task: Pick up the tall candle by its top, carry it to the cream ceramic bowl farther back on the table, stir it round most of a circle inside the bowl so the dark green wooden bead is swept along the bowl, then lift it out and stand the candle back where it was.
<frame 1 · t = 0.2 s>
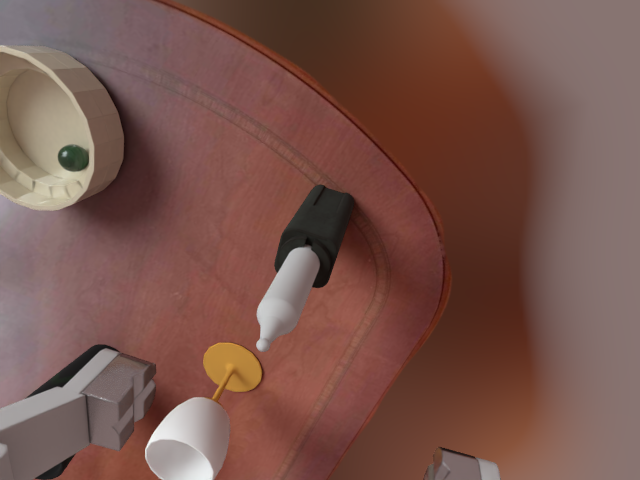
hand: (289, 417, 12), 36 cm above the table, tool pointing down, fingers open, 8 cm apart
bowl: (61, 125, 50), on the table
cup 2: (233, 366, 61), on the table
cup: (109, 362, 66), on the table
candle: (329, 208, 48), on the table
bead: (73, 158, 49), point 2 cm above the table, touching bowl
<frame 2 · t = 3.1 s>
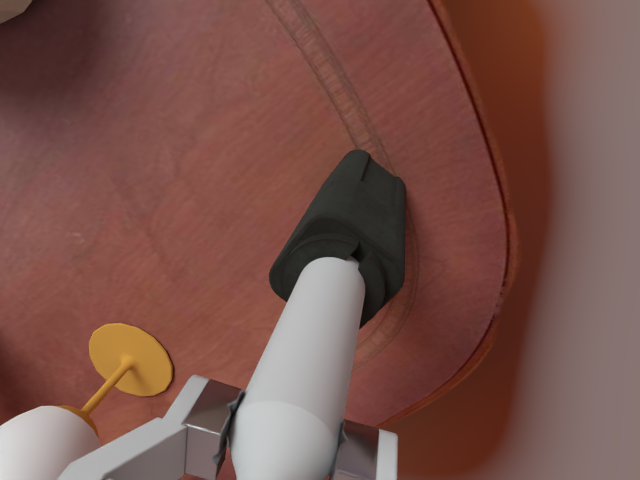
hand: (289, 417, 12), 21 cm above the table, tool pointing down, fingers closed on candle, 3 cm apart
cup 2: (132, 358, 42), on the table
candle: (361, 191, 30), on the table, touching gripper
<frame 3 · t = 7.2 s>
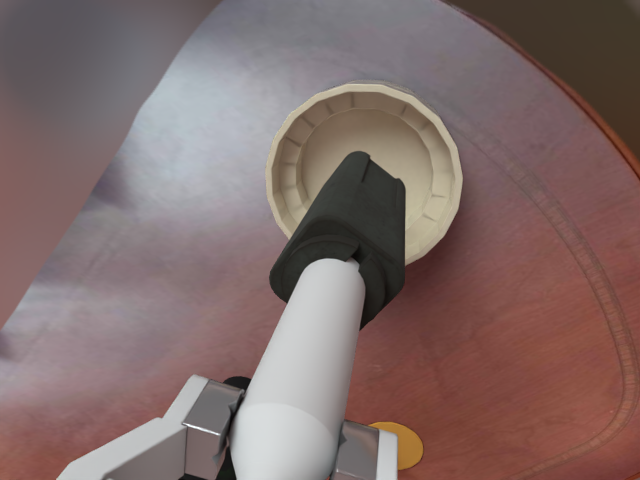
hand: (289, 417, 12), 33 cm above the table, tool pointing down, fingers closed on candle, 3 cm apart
bowl: (365, 170, 42), on the table
cup 2: (389, 444, 57), on the table
cup: (245, 396, 59), on the table
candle: (362, 192, 30), point 12 cm above the table, touching gripper
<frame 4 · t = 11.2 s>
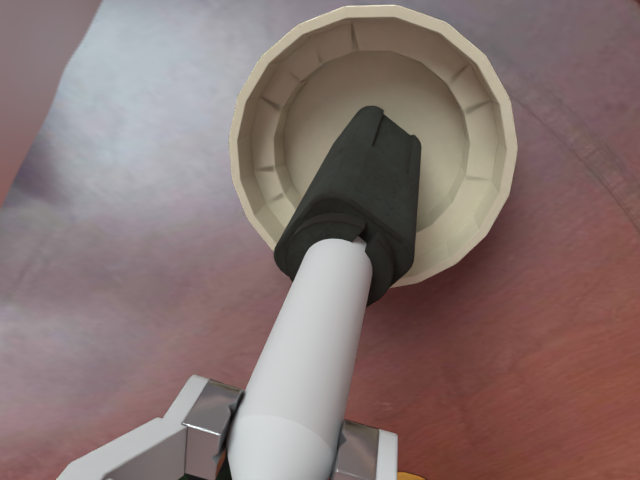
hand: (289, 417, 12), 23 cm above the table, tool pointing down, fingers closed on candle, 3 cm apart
bowl: (371, 146, 31), on the table
cup: (220, 438, 47), on the table
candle: (374, 150, 29), point 2 cm above the table, touching bead, gripper
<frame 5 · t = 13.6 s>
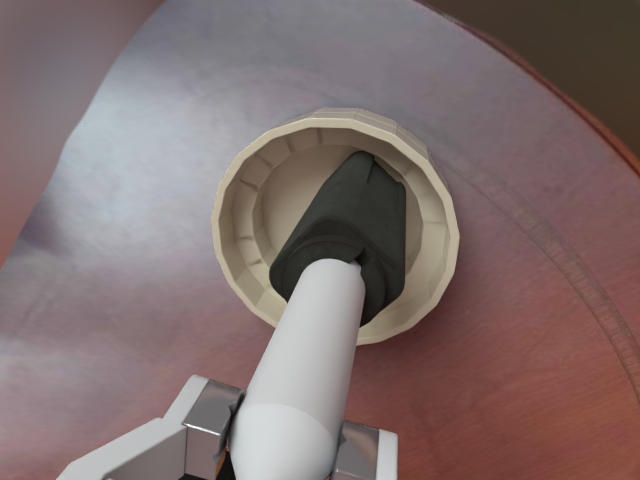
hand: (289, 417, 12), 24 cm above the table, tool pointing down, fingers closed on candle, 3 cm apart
bowl: (340, 215, 34), on the table
cup: (210, 462, 51), on the table
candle: (362, 192, 30), point 3 cm above the table, touching gripper
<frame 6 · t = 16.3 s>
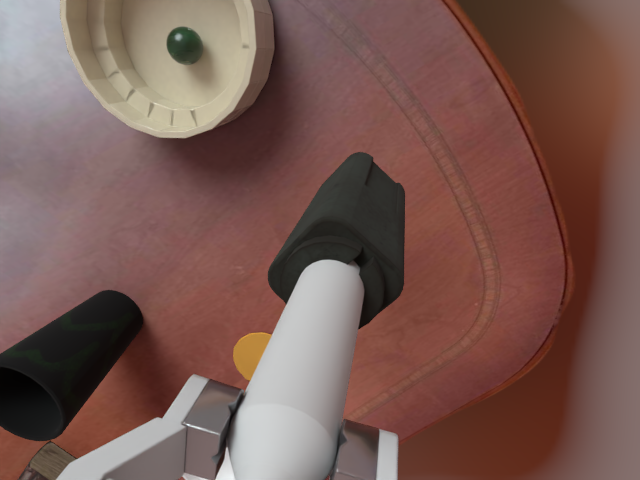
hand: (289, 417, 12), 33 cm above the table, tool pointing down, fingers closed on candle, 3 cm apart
bowl: (189, 34, 40), on the table
cup 2: (266, 359, 55), on the table
cup: (118, 313, 56), on the table
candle: (361, 194, 30), point 12 cm above the table, touching gripper
bead: (185, 46, 38), point 2 cm above the table, tilted 110°, touching bowl
when the fingers open (21 cm above the table, at t = 20.3 s): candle stays where it is, on the table.
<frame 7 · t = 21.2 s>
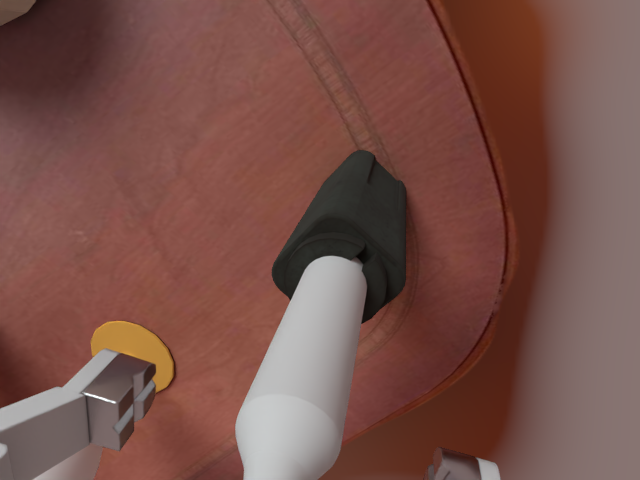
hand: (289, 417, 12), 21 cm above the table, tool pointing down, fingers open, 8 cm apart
cup 2: (134, 356, 42), on the table
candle: (362, 191, 31), on the table
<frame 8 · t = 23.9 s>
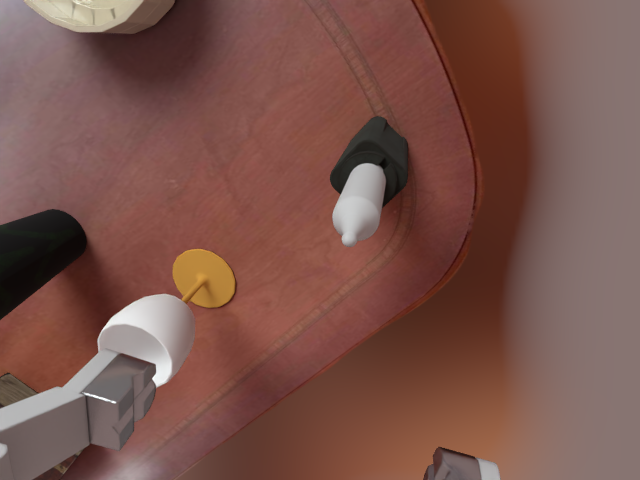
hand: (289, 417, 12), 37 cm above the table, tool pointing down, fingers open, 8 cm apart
cup 2: (204, 277, 57), on the table
cup: (63, 233, 58), on the table
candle: (378, 145, 45), on the table
hardback book: (28, 439, 80), on the table
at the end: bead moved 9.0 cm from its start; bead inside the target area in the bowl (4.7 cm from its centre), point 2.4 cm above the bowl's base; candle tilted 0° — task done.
